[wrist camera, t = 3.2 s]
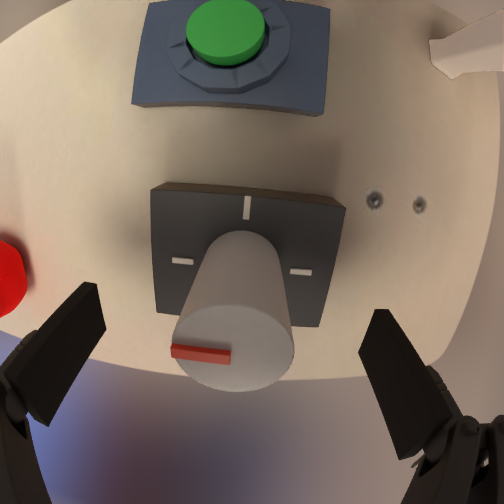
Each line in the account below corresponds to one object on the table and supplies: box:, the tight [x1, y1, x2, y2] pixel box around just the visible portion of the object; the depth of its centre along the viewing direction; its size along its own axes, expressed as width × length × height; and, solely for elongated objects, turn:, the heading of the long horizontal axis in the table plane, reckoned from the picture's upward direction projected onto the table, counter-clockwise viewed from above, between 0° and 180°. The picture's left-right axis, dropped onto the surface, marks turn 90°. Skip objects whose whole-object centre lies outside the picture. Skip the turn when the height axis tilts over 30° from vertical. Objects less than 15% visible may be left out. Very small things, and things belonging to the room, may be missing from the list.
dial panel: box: [150, 182, 346, 327], centre depth 19 cm, size 12×9×3 cm
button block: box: [131, 0, 330, 117], centre depth 13 cm, size 12×8×4 cm, turn 85°
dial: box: [170, 231, 294, 392], centre depth 14 cm, size 5×5×8 cm
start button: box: [186, 0, 265, 66], centre depth 11 cm, size 4×4×2 cm
